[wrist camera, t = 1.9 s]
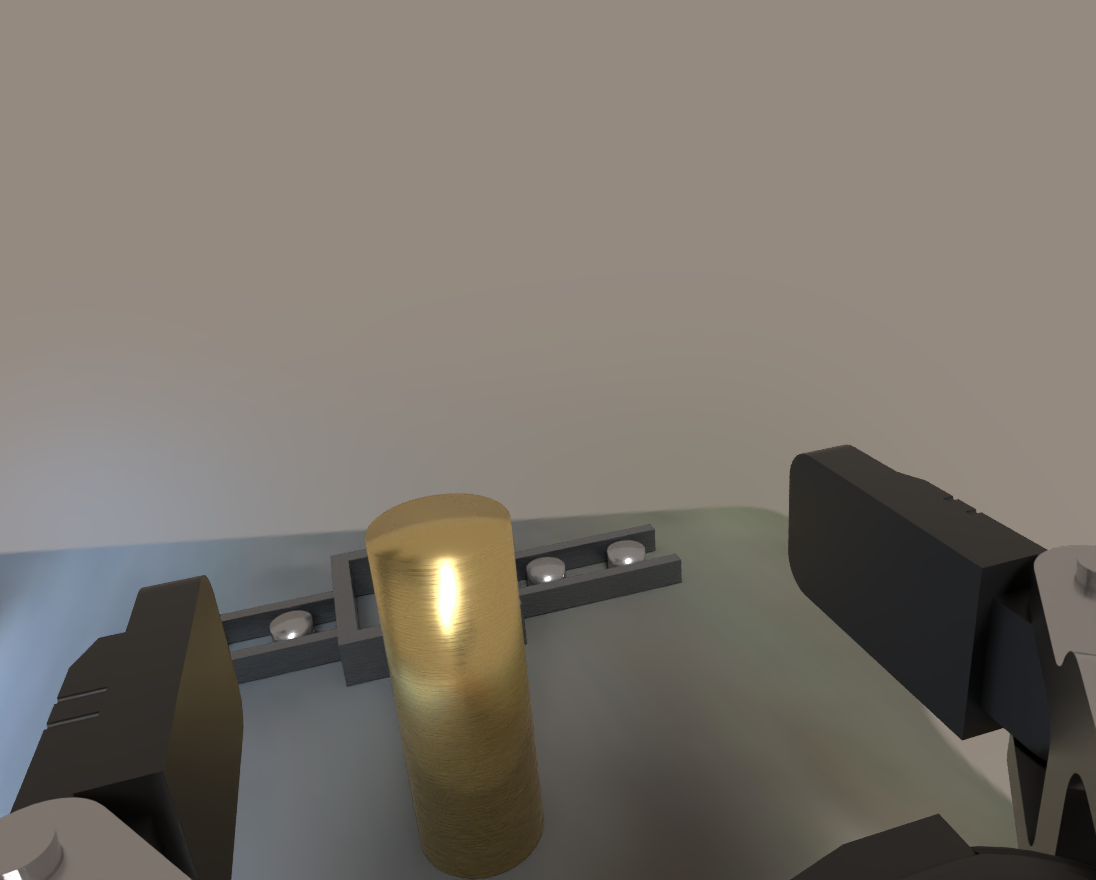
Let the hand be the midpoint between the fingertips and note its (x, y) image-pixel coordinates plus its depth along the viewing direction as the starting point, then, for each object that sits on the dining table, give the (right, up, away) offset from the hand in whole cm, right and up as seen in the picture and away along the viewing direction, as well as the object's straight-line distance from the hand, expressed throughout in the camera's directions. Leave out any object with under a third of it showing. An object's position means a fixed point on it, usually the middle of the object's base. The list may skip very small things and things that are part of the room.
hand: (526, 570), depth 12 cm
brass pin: (-2, -11, +16) cm, 19 cm away
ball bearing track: (-5, -6, +28) cm, 29 cm away
